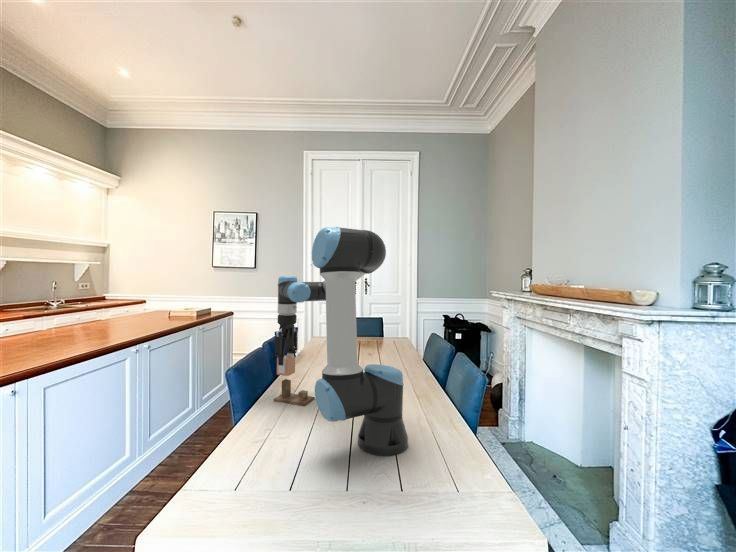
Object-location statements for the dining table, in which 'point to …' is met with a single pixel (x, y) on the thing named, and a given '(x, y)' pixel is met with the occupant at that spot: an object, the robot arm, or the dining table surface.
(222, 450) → the dining table surface
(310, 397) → the peg stand
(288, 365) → the tan upright block
